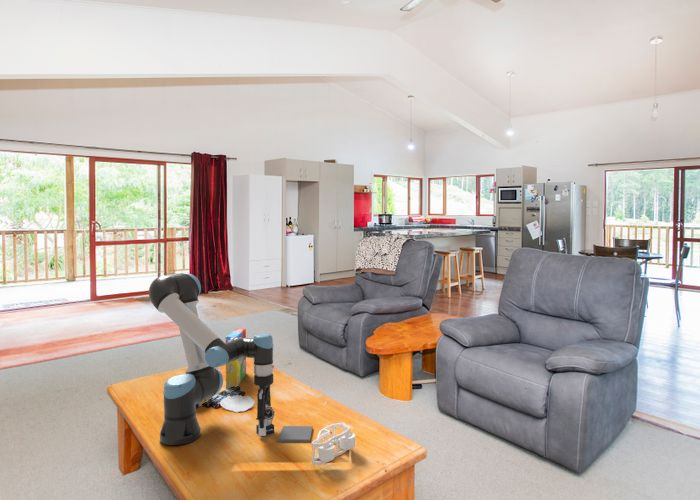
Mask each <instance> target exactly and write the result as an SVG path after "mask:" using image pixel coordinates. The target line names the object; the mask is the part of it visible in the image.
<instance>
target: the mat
mask: <svg viewBox="0 0 700 500" xmlns="http://www.w3.org/2000/svg"><path fill="white" fill-rule="evenodd" d="M313 427H314V426H313V425H283V426H282V428H281V431H280V434H279V437H278V439H277V442H278V443H310V442H311V440H312V439H311V438H312V434H313V429H314V428H313Z"/></svg>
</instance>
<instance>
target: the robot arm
mask: <svg viewBox="0 0 700 500" xmlns="http://www.w3.org/2000/svg"><path fill="white" fill-rule="evenodd" d="M201 293H202V285H201V282H200V280H199V279H198V278H197V276H196V275H194V274H191V273H183V272H182V273H176V274H175V273H174V274H168V275H166V274H165V275H160V276H158V277H156V278H155V279H154V280H153V281H152V282H151V284H150V286H149V288H148V297H149V301H150V303H151V304H152V306H153V307H154V308H155V309H156V310H157V311H158V312H159V313H161V314H162V313H163V314H165V315H166V316H167V317H168V318H169V319H170V320H171V321H172V322H173V323H174V324H175V325H176V326H177V327H178V329H179V330H178V331H179V332H180V333H179V334H180V339H181V342H182V346H183V351H184V354H185V357H186V358H185V360H186V363H187V368H186V369H185V373H181V374H176V375H173V376H171V377H169V378H168V379H167V380H166V381H165V383H164V385H163V412H164V419H163V423H162V426H161V429H160V432H159V442H160V443H162V444H164V445H169V446H179V445H185V444H188V443H191V442H194V441H195V440H198V439H199V438H200V436H201V433H202V432H201V426H200V424H199V420H198V417H197V414H196V413H197V412H196V411H197V410H196V408H197V407H196V404H198V403H200V402H202V401H204V400H206V399H208V398H211V397H212V398H213V397H214V396H216V395H217V394H219V392H220V391H221V390H222V388H223V385H224V377H223V374H222V372H221V371H220V370H219V369H218V368H219V367H223V366H226V364H227V363H229V362H232V361H235V360H237V359H240V358H242V357H246V358H250V359H253V374H254V375H253V384H254V385H255V386H258V389H257V394H256V396H257V397H256V398H257V399H256V400H257V402H256V403H257V404H256V406H257V408H256V410H257V411H256V412H257V414H256V419H255V420H257V423H258V424H257V425H259V434H258V436H259V437H261V436H262V437H266V436H267V435H266V418H265V410H266V404H267V405H268V406H270V407H271V408H272V409H273V407H272V402H271V385H272V384H274V373H273V372H274V368H275V367H276V366H275V364H274V342H273V341H274V340H273V339H274V338H273V335H272V334H270V333H258V334H257V333H256V334H254V336H253V338H249V337H246V338H242V337H232V338H230V339H229V340H228V341H227V343H226V342H224V341H223V340H222V339H221V338H220V337H219V336H218V335H217V334H216V333H215V332H214V331H213V330H212V329H211V328H209V326H208V325H207V324H205V322H204V321H203V320H202V319H200V317H199V314H198V309H197V305H198V303H199V297H200V295H201Z"/></svg>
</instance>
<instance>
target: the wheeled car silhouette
mask: <svg viewBox="0 0 700 500" xmlns="http://www.w3.org/2000/svg"><path fill="white" fill-rule="evenodd" d="M339 427H341V433H339V434H336V431H337V430H336V428H339ZM331 429H333V430H332V431H333V434H332V435H333V436H332V437H331ZM326 437H327V440H326ZM320 440H322V442H321V441H320ZM311 448H312V449H311V451H312V452H311V453H312V455H311V457H312V458H311V464H312V465H313V466H322V465H324V464H325V465H326V464H327V463H329V462H331V461H333V460H334V459H335V457H338V456H340V455H343V454H344V453H346V452H347V451H348V450H353V449H355V448H356V434H355V433H354V432H351V427H350V426H348V425H347V424H346V423H345V422H338V423H332V424H329V425H327V426H325V427H323V428H322V429H320V430H319V431H318V434H317V435H316V439H314V440H313V441H311ZM339 448H340V449H341V450H340V451H339ZM315 449H317V450H316V451H315ZM315 452H316V453H317V455H315V454H316V453H315Z"/></svg>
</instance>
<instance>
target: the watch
mask: <svg viewBox="0 0 700 500" xmlns="http://www.w3.org/2000/svg"><path fill="white" fill-rule="evenodd" d="M271 407H272V406H268V405H267V404H266V410H265V418H266V436H268V435H272V434H275V425H274V424H273V421H274V418H275V414H276V413H275V410H274V409H273V407H272V408H271ZM255 427H256V428H255V429H256V434H257V435H259V425H258V424H256V426H255ZM260 437H261V438H262V437H263V436H260Z"/></svg>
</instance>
